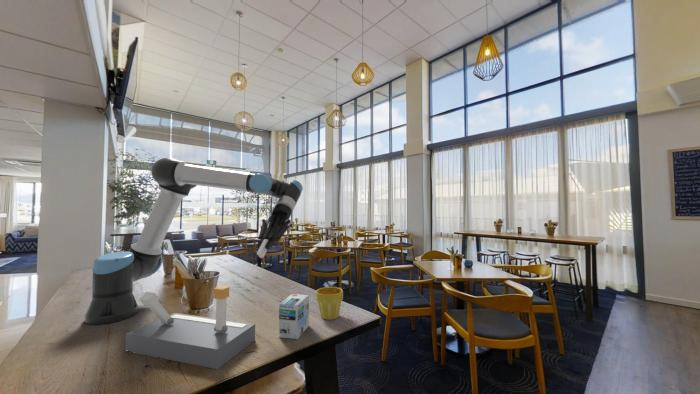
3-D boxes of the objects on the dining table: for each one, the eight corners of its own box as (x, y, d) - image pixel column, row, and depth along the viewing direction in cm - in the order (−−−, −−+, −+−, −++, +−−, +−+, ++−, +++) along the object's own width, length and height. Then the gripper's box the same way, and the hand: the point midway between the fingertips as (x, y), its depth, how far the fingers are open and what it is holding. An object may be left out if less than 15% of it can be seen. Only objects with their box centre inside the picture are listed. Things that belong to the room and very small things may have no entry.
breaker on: (161, 325, 85) (138, 299, 79) (168, 318, 87) (146, 291, 81) (169, 326, 84) (147, 300, 78) (175, 319, 86) (154, 292, 80)
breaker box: (125, 351, 79) (125, 332, 79) (174, 327, 95) (174, 312, 95) (217, 369, 70) (217, 348, 71) (255, 340, 86) (255, 323, 86)
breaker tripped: (212, 333, 79) (213, 288, 80) (219, 329, 82) (220, 286, 82) (222, 334, 78) (223, 289, 79) (228, 330, 81) (229, 286, 81)
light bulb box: (297, 340, 86) (298, 305, 86) (277, 337, 87) (278, 303, 88) (309, 325, 97) (309, 294, 97) (291, 323, 98) (291, 293, 98)
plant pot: (310, 317, 104) (310, 291, 104) (328, 309, 112) (328, 285, 112) (330, 324, 97) (331, 296, 98) (348, 315, 106) (348, 289, 106)
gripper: (300, 215, 116) (279, 262, 99) (273, 214, 120) (248, 260, 103) (294, 202, 111) (271, 250, 95) (266, 202, 115) (239, 248, 98)
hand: (259, 255), depth 99 cm, fingers closed
